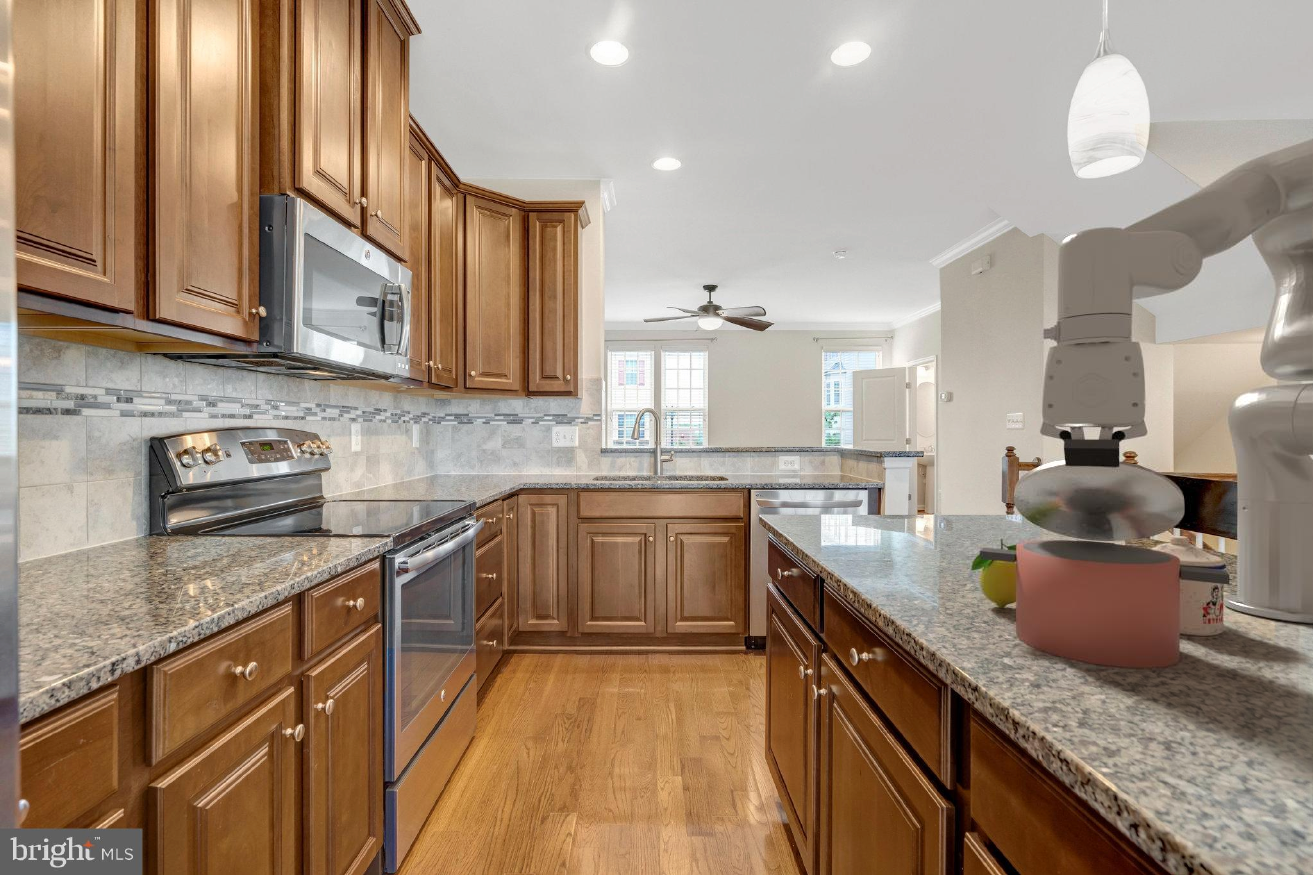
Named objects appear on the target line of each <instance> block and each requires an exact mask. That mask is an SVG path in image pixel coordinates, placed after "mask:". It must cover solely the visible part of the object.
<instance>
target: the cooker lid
mask: <svg viewBox="0 0 1313 875" xmlns="http://www.w3.org/2000/svg"><path fill="white" fill-rule="evenodd" d="M1063 454H1064V455H1063V456H1064V460H1059V461H1053V462H1049V463H1046V464H1043V465H1040V466H1038V467H1036V468H1033V469H1031V470H1029V471H1027V472H1026V473H1025V474H1023V475H1022V476H1021V477H1020V478H1019V479H1018V480H1017V482H1016V484H1015V486H1014V492H1013V503H1014V506H1015V508H1016V510H1017V512H1018V513H1019V514H1020V515H1021V516H1022V517H1024V519H1026V521H1029V522H1030V523H1032V524H1033V525H1035V526H1037V527H1038V528H1041V529H1043V530H1046V531H1048V532H1051V533H1055V534H1056V535H1057V534H1058V535H1061V536H1063V537H1064V536H1065V537H1068V538H1074V539H1078V540H1080V539H1081V540H1084V541H1094V542H1126V541H1134V540H1135V541H1138V540H1142V539H1147V538H1151V537H1154V536H1157V535H1161V534H1163V533H1165V532H1167V531H1169V530H1171V529H1173V528H1174V527H1176V526H1177V525H1178V524H1179V523H1180V522H1181V520H1182V519H1183V517H1184V516H1185V511H1186V510H1185V498H1184V494H1183V491H1182V490H1181V489H1180V487H1179V486H1178V485H1177V484H1176V483H1175V482H1174V481H1173V480H1172V479H1170V478H1168V477H1167V476H1165V475H1164V474H1161V473H1160V472H1157V471H1155V470H1153V469H1151V468H1148V467H1145V466H1141V465H1138V464H1134V463H1131V462H1126V461H1120V442H1119V440H1107V439H1099V438H1098V439H1092V438H1091V439H1088V438H1085V439H1064V441H1063Z"/></svg>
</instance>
